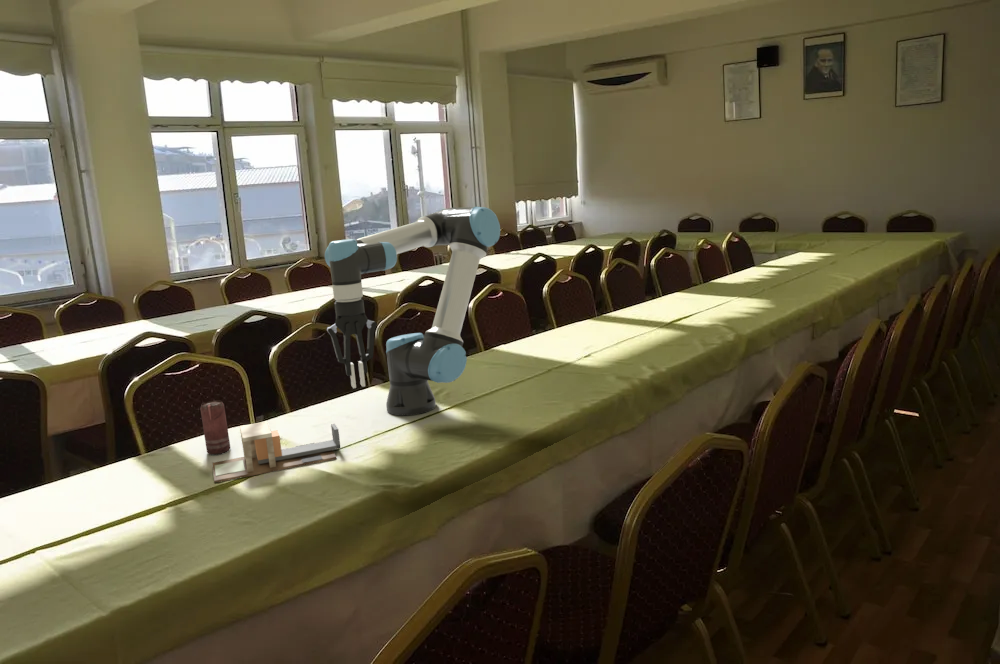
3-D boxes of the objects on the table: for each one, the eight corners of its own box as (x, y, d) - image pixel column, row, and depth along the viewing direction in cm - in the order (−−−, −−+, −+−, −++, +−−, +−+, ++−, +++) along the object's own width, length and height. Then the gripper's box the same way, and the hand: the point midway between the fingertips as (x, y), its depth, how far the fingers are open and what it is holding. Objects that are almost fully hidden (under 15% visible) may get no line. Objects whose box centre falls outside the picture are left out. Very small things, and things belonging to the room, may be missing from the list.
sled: (337, 442, 212) (334, 419, 211) (340, 448, 207) (337, 425, 206) (256, 457, 204) (253, 434, 203) (258, 464, 200) (255, 440, 198)
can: (206, 457, 211) (198, 407, 208) (208, 449, 217) (200, 401, 214) (229, 453, 212) (222, 404, 210) (231, 446, 218) (224, 398, 216)
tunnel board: (327, 443, 215) (323, 409, 213) (336, 459, 203) (332, 423, 201) (212, 464, 205) (207, 430, 203) (214, 483, 192) (208, 446, 190)
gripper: (373, 294, 210) (382, 378, 215) (317, 301, 205) (328, 387, 210) (379, 297, 203) (388, 384, 208) (322, 304, 198) (333, 394, 203)
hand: (358, 386), depth 209 cm, fingers closed
